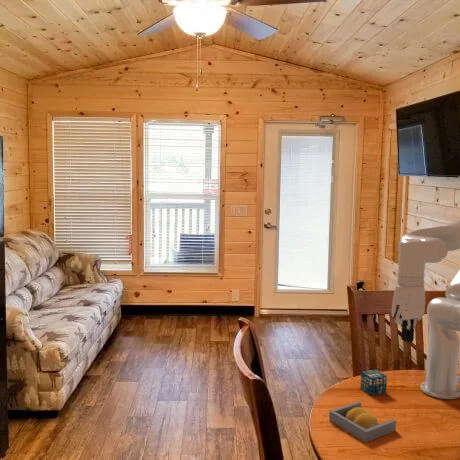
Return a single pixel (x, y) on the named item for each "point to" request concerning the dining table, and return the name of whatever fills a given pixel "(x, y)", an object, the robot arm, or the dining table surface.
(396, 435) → the dining table surface
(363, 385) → the puzzle
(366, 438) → the box
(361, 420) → the bread roll
